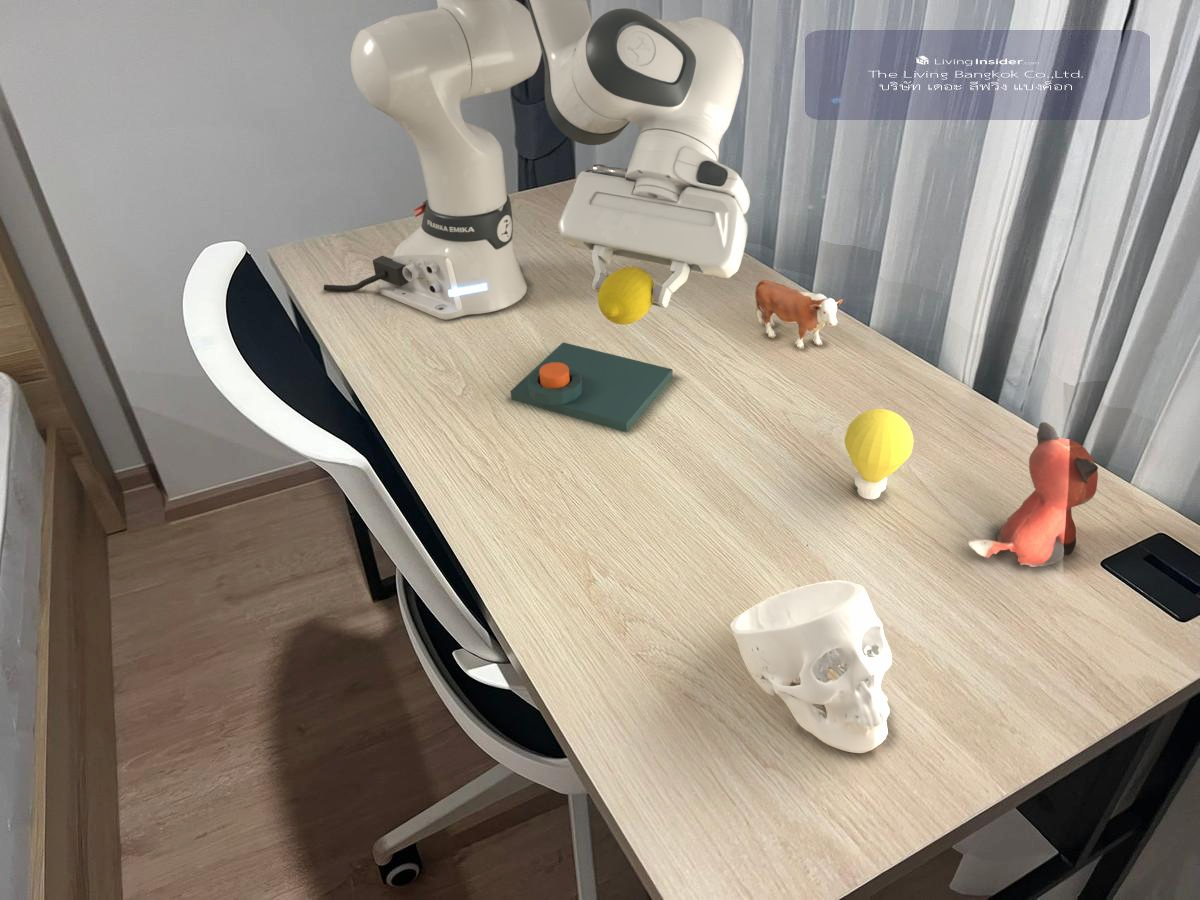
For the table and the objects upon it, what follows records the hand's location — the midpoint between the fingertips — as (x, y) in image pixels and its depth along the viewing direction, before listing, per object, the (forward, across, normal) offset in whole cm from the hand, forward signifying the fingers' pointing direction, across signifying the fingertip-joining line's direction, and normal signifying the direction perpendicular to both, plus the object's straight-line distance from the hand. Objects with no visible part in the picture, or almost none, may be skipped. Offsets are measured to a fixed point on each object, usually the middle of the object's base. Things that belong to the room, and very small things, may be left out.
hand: (628, 298), depth 94 cm
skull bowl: (+30, +30, -6) cm, 43 cm away
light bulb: (+11, +28, +14) cm, 33 cm away
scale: (+8, -8, +17) cm, 21 cm away
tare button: (+9, -12, +13) cm, 19 cm away
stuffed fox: (+13, +43, +12) cm, 46 cm away
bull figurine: (-8, +10, +33) cm, 35 cm away
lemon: (+3, 0, -4) cm, 5 cm away
